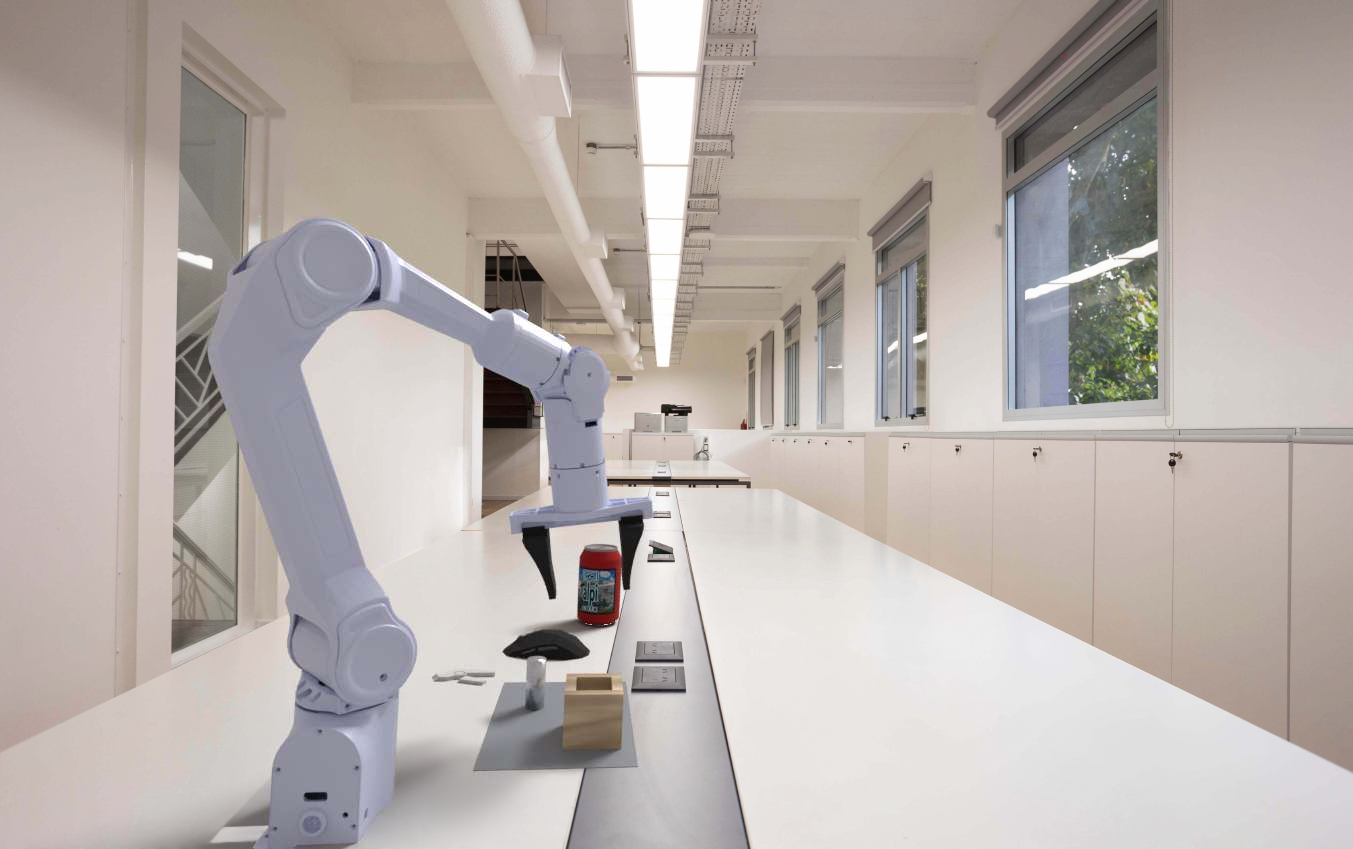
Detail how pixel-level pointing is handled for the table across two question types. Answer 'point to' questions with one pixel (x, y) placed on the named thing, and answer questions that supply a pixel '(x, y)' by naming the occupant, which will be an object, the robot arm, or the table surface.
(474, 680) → the pliers
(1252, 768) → the table surface
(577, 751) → the slate board
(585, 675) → the birch collar
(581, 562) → the beverage can
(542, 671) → the steel post
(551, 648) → the gaming mouse
